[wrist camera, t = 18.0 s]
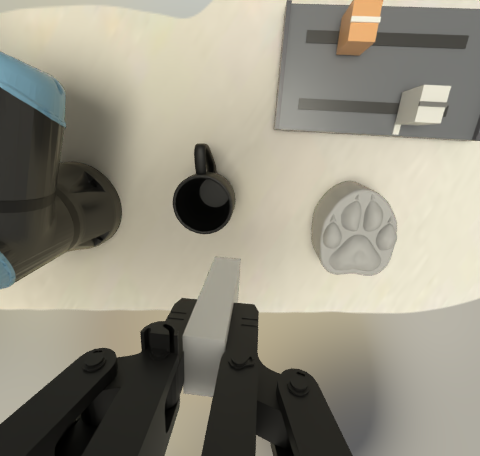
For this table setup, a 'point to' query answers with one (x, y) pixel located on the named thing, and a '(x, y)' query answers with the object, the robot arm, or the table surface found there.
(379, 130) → the console
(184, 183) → the mug
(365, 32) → the fader
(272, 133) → the table surface
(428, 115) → the fader
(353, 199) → the lumpy-topped squat cylinder
